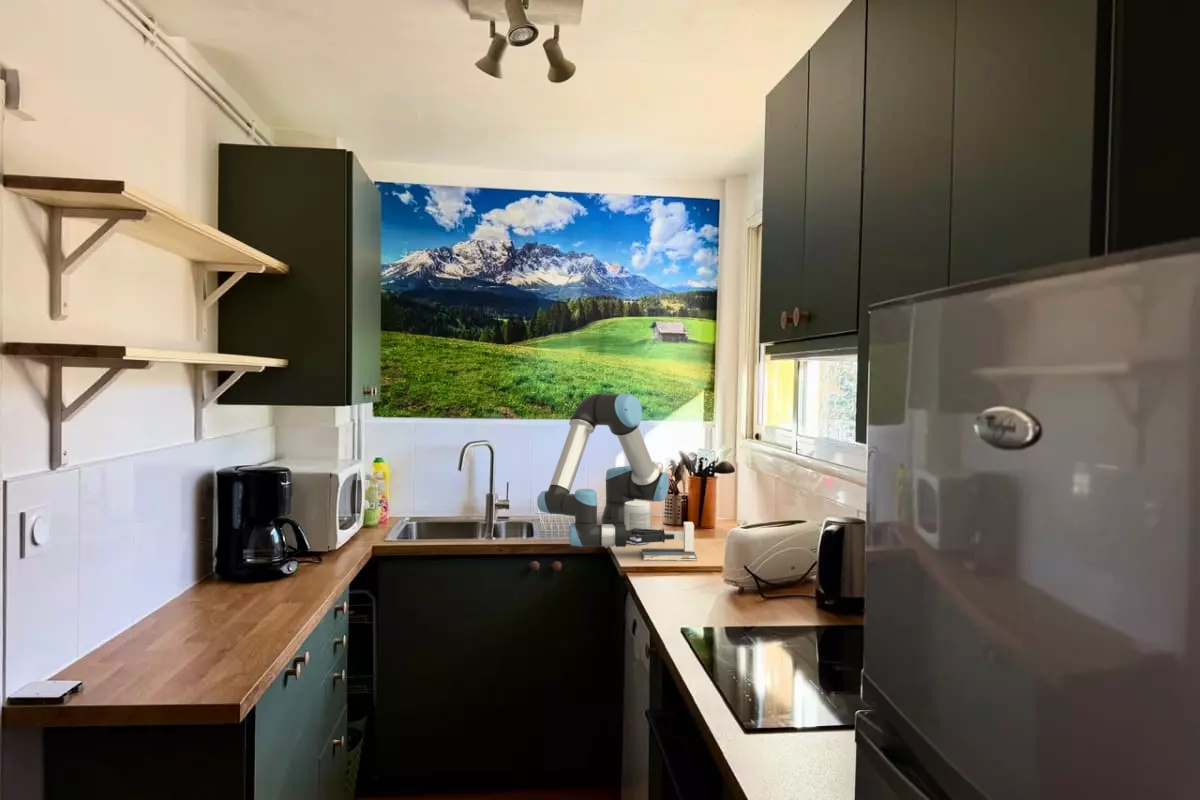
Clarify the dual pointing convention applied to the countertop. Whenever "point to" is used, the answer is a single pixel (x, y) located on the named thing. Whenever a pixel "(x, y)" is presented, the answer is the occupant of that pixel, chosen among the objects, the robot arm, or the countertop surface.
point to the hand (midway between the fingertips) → (683, 535)
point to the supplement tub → (637, 516)
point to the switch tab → (688, 537)
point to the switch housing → (668, 553)
